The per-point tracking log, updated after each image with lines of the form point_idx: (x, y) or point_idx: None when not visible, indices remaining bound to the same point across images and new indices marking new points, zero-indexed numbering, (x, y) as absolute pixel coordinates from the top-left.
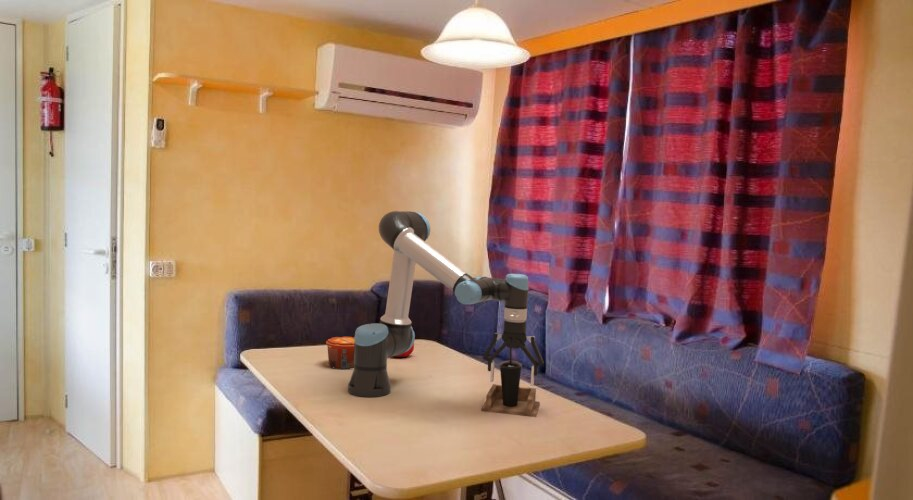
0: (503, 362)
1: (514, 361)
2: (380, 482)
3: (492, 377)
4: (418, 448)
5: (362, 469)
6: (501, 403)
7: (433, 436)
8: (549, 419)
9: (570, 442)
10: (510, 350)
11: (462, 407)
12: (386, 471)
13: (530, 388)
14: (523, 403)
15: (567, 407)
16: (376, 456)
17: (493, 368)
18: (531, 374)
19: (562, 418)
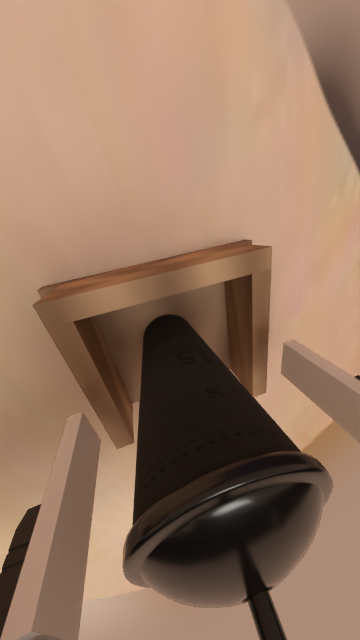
0: (180, 603)
1: (293, 568)
2: (140, 589)
3: (96, 467)
4: (121, 554)
5: (105, 597)
6: (137, 342)
7: (111, 531)
8: (277, 353)
9: (305, 423)
10: None
11: (34, 415)
12: (130, 584)
13: (248, 264)
14: (203, 297)
15: (328, 220)
16: (92, 587)
17: (79, 535)
18: (333, 418)
19: (304, 329)
